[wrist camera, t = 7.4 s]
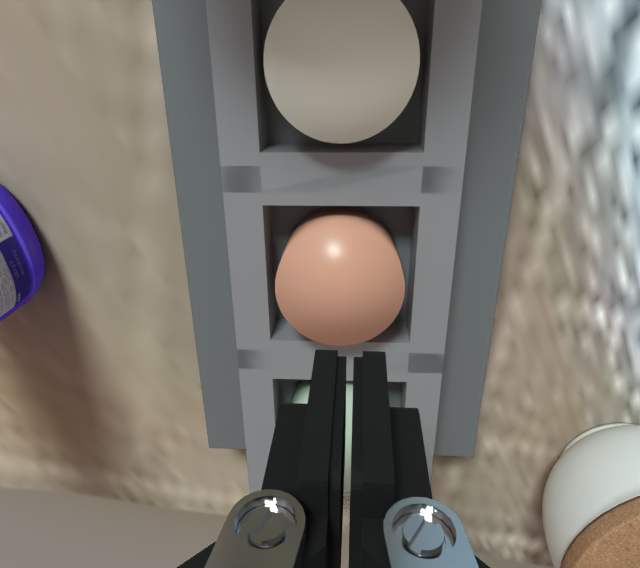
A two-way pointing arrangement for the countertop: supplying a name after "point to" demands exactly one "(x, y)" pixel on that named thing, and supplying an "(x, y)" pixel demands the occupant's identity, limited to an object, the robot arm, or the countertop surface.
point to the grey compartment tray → (345, 190)
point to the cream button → (341, 66)
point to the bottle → (17, 256)
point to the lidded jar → (595, 500)
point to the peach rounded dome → (340, 277)
